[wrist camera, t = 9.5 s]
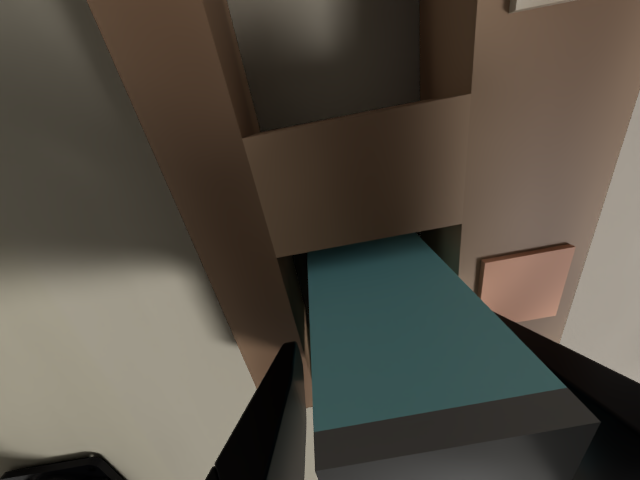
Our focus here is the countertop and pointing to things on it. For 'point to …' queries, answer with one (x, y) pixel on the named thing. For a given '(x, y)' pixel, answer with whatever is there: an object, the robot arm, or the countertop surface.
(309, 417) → the countertop surface
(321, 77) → the countertop surface
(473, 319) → the plug
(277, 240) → the socket plate
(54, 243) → the countertop surface
